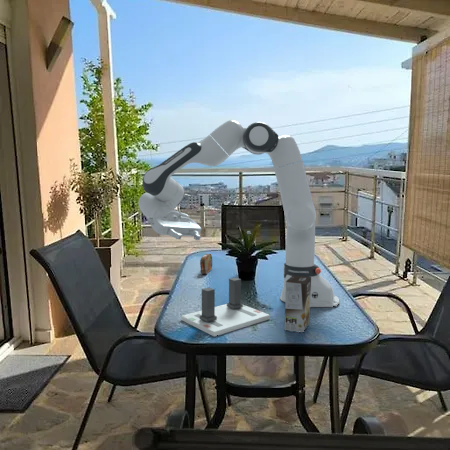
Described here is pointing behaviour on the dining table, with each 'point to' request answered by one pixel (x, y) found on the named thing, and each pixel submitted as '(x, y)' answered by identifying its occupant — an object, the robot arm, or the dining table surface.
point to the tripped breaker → (208, 305)
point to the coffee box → (297, 303)
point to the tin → (206, 263)
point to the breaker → (234, 293)
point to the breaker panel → (226, 319)
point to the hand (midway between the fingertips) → (189, 238)
